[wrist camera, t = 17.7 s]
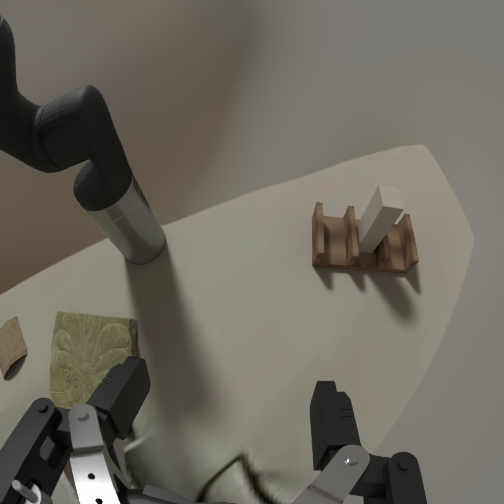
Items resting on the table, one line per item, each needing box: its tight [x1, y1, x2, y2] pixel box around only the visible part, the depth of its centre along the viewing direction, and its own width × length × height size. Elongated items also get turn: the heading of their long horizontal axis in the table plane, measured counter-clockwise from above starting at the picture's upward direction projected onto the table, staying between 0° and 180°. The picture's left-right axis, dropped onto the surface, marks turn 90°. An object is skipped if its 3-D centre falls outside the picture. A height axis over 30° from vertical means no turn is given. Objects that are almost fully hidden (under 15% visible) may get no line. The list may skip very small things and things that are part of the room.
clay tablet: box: [0, 317, 27, 378], centre depth 38 cm, size 14×10×3 cm
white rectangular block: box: [356, 185, 404, 253], centre depth 41 cm, size 4×4×14 cm
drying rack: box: [312, 202, 419, 273], centre depth 46 cm, size 10×19×5 cm, turn 84°
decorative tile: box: [50, 311, 137, 409], centre depth 38 cm, size 19×20×4 cm
